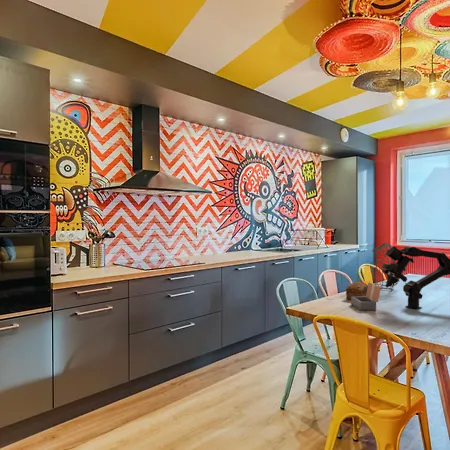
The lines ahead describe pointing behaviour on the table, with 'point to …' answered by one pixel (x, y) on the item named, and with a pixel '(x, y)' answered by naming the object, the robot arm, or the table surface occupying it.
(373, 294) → the lid
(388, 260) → the geometric lantern
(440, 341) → the table surface
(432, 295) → the table surface
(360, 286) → the bread
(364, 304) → the storage box
